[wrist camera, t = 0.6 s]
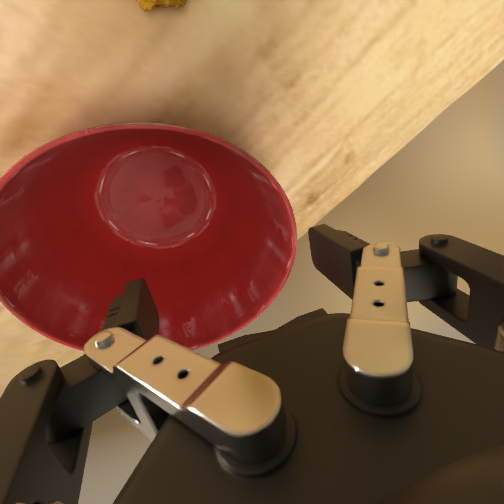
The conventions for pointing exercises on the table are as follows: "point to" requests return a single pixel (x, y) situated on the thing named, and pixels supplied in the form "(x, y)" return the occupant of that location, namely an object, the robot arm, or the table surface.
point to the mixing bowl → (142, 232)
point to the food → (159, 3)
